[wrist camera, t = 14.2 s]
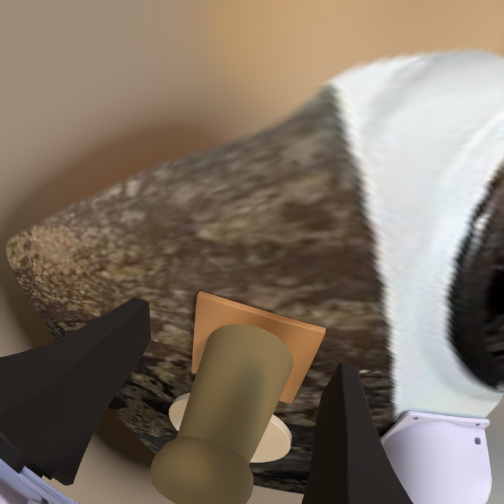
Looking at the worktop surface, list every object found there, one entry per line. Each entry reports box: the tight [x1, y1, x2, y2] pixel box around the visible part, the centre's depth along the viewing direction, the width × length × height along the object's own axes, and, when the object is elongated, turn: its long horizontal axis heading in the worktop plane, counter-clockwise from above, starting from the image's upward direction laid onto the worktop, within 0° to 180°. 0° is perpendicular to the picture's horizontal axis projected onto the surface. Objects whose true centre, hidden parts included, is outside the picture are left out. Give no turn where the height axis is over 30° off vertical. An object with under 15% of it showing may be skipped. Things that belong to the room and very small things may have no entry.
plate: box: [169, 393, 292, 462], centre depth 27 cm, size 12×12×1 cm
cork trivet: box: [191, 291, 326, 404], centre depth 21 cm, size 8×8×1 cm
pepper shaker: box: [150, 324, 294, 504], centre depth 16 cm, size 6×6×11 cm
